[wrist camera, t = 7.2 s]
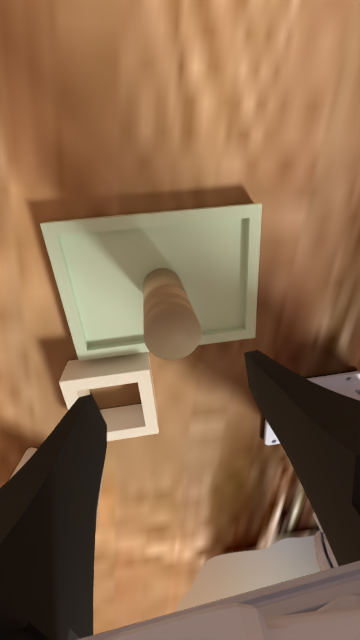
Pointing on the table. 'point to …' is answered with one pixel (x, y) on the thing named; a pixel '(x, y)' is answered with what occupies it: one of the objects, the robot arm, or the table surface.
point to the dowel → (168, 316)
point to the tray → (147, 255)
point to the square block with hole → (112, 373)
